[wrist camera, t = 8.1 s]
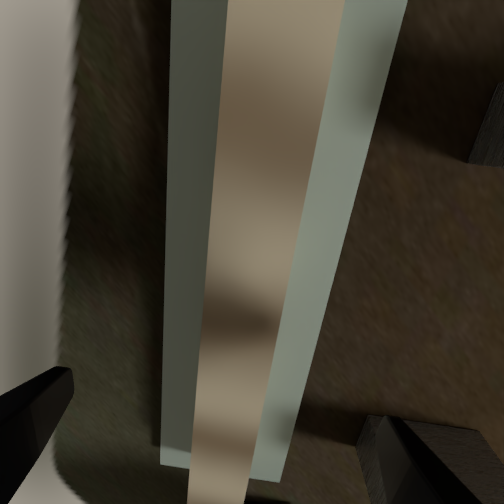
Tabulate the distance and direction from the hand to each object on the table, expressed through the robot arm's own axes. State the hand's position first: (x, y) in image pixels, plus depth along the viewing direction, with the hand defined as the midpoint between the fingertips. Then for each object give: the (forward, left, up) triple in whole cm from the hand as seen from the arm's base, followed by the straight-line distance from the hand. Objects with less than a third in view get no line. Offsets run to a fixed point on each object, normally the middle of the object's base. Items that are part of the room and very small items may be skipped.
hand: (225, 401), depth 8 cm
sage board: (0, 0, -7) cm, 7 cm away
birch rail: (0, 0, -6) cm, 6 cm away
